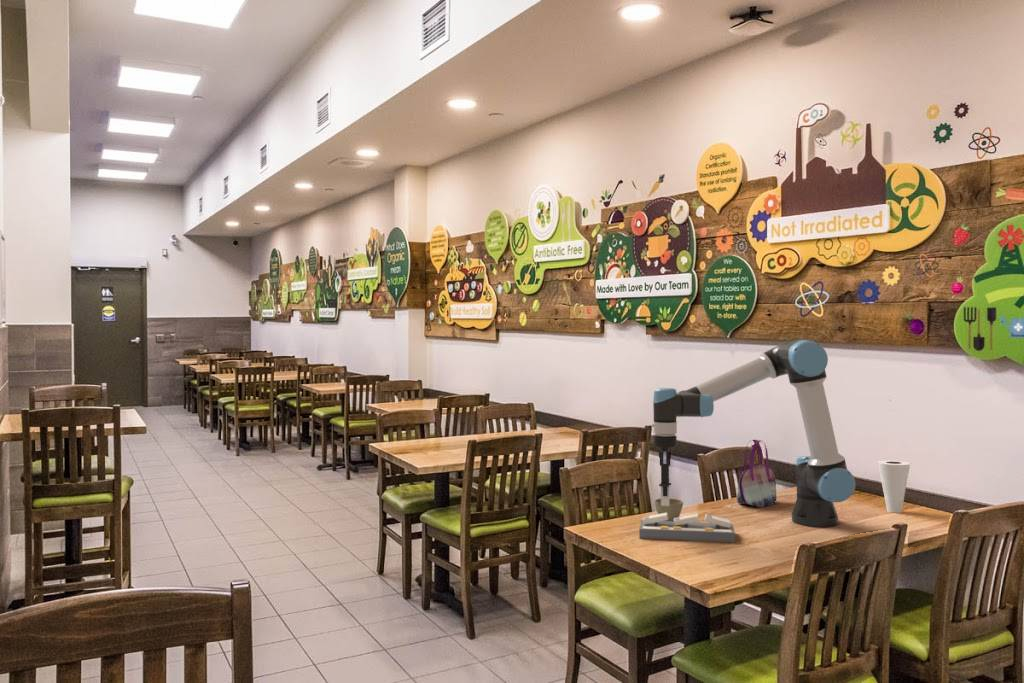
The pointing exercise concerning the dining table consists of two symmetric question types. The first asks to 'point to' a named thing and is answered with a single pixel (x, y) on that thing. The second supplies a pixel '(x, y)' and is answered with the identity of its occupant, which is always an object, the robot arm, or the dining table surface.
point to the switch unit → (687, 531)
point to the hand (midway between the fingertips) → (665, 505)
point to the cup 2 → (894, 483)
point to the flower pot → (669, 508)
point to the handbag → (757, 481)
